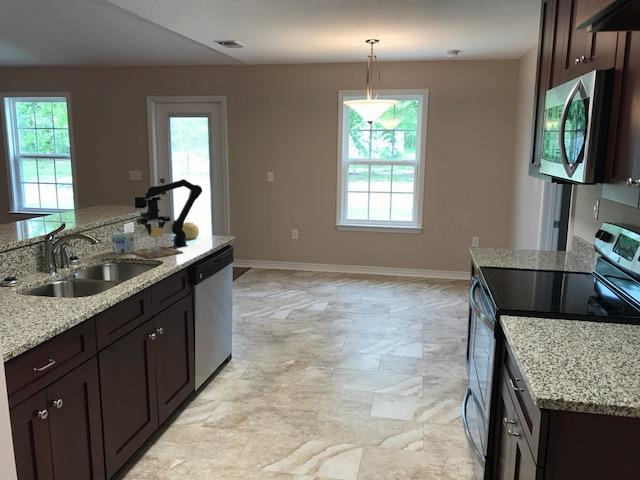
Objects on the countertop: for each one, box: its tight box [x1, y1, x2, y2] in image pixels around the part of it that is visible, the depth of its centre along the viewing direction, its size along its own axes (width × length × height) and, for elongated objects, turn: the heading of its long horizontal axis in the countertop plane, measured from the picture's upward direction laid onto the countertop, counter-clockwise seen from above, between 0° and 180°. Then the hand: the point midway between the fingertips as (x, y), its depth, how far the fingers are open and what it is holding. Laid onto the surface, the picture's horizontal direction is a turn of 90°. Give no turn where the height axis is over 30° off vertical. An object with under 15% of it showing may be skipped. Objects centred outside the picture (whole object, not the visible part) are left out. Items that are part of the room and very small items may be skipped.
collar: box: [146, 226, 163, 238], centre depth 300 cm, size 6×6×5 cm
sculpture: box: [182, 221, 200, 240], centre depth 331 cm, size 12×12×11 cm
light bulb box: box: [111, 231, 136, 254], centre depth 290 cm, size 11×7×11 cm, turn 129°
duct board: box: [131, 246, 184, 260], centre depth 287 cm, size 20×20×1 cm
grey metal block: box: [152, 245, 162, 254], centre depth 283 cm, size 3×3×4 cm
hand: (154, 234), depth 300 cm, fingers closed on collar, 6 cm apart
